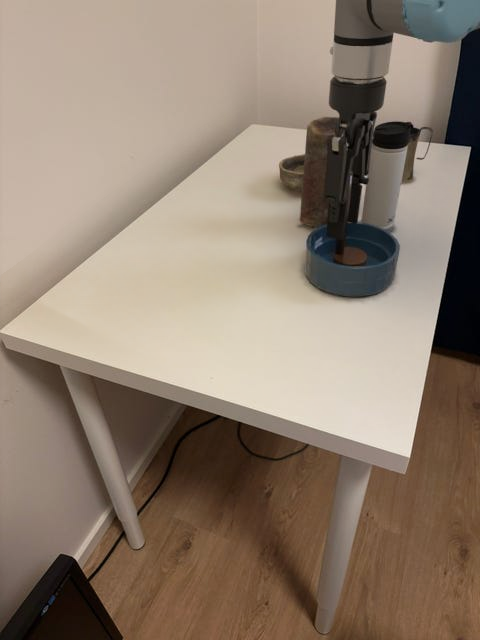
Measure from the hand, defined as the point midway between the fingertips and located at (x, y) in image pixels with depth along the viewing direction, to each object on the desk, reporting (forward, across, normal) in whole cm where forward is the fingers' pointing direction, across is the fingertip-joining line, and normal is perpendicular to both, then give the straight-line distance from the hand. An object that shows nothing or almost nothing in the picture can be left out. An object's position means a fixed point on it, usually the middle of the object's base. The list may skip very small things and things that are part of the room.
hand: (342, 228), depth 80 cm
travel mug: (+8, -18, +1) cm, 20 cm away
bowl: (+8, -30, -19) cm, 36 cm away
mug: (+8, -43, -1) cm, 44 cm away
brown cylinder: (+8, -14, -10) cm, 19 cm away
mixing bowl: (+8, 0, +2) cm, 8 cm away
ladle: (+8, 0, +2) cm, 8 cm away
